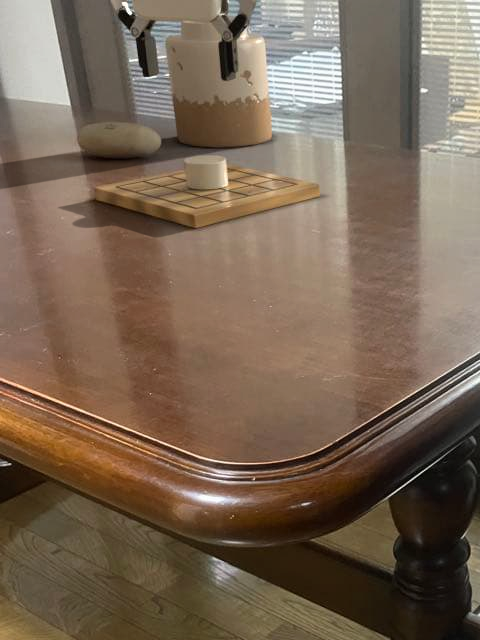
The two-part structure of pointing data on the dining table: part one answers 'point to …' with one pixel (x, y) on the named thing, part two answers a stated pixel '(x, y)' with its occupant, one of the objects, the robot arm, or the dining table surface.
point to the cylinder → (206, 172)
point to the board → (206, 196)
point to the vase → (218, 89)
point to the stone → (118, 140)
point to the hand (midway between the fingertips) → (189, 77)
